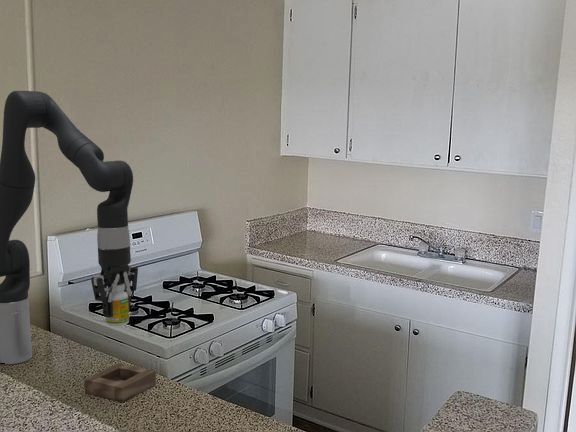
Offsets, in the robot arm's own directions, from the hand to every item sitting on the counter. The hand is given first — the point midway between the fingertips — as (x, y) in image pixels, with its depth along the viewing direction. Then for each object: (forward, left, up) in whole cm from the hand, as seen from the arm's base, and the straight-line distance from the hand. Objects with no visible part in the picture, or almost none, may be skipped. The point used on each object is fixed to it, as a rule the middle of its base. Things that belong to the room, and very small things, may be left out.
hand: (117, 313), depth 161 cm
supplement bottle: (0, 0, -3) cm, 3 cm away
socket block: (0, 0, -19) cm, 19 cm away
